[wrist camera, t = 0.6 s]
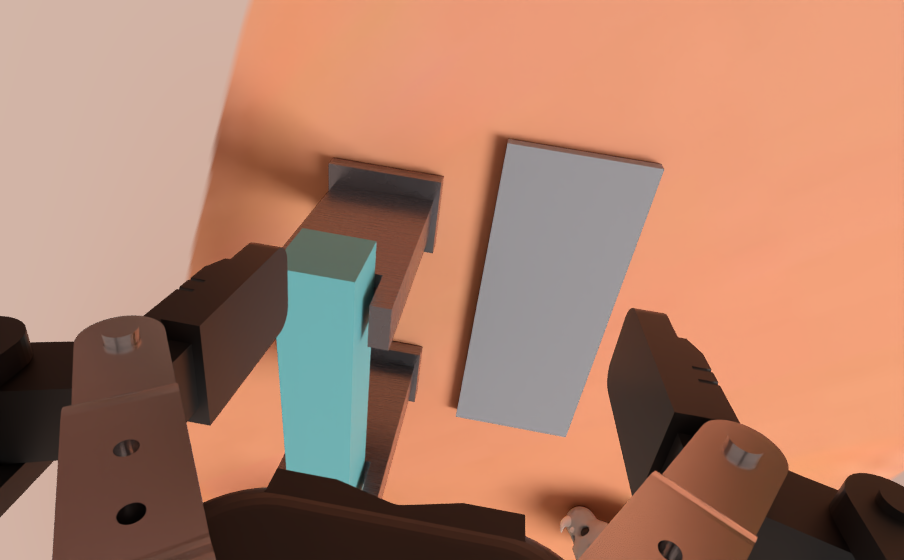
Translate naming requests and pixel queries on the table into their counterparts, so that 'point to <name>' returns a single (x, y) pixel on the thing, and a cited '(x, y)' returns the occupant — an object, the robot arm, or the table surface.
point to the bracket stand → (383, 284)
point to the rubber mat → (551, 281)
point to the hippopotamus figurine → (582, 528)
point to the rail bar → (326, 354)
